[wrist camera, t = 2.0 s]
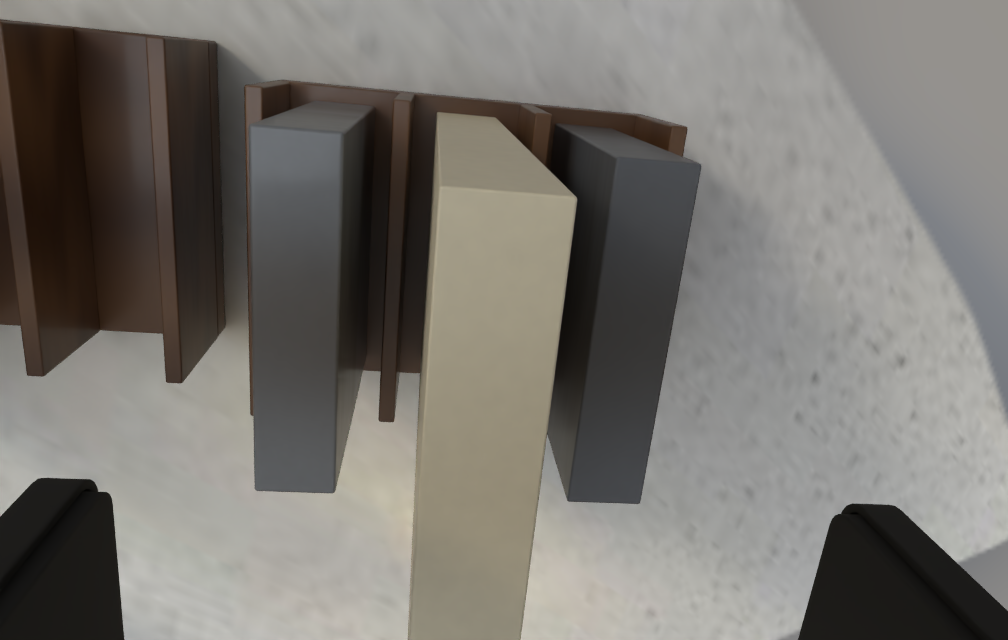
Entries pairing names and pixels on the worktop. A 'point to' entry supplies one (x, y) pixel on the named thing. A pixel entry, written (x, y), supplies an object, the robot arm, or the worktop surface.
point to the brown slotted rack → (403, 263)
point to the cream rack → (109, 191)
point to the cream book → (484, 377)
